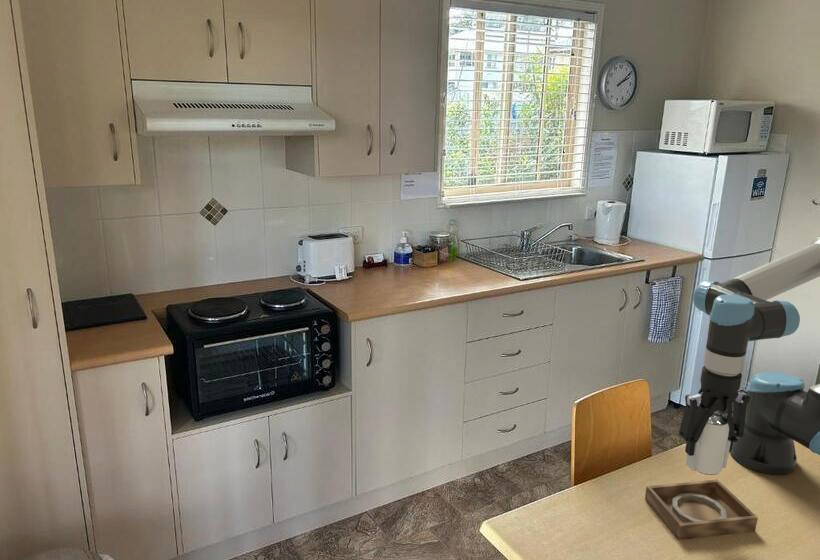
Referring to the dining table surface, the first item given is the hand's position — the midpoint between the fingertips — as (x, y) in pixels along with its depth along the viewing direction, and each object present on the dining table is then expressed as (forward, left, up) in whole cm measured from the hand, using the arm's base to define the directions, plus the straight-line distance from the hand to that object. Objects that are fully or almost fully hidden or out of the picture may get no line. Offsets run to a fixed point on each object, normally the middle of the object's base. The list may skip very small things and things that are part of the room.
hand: (705, 465), depth 139 cm
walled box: (0, 0, -13) cm, 13 cm away
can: (0, 0, -1) cm, 1 cm away
